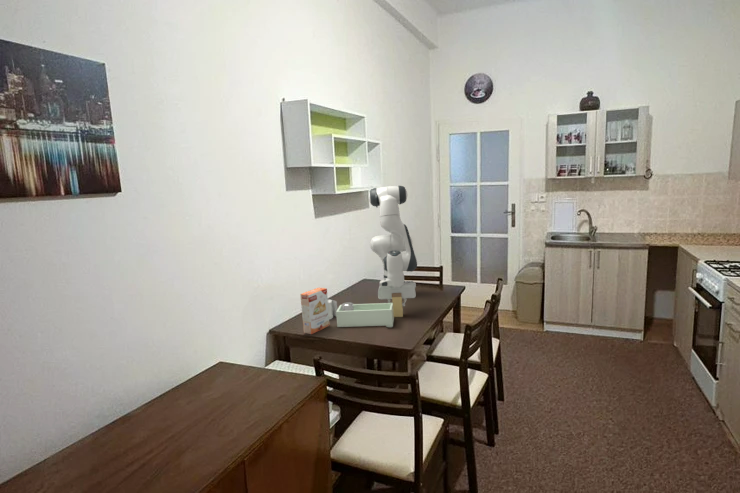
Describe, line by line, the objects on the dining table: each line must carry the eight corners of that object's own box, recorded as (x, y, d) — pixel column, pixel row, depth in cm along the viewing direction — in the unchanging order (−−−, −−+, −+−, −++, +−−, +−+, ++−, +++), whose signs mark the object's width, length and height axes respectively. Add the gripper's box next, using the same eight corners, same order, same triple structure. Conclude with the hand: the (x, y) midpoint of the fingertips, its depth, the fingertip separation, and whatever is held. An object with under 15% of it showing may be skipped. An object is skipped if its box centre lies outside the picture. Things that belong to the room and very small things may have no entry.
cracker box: (312, 336, 216) (308, 294, 212) (303, 334, 219) (299, 293, 216) (330, 327, 227) (327, 287, 224) (321, 325, 230) (318, 286, 227)
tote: (341, 321, 236) (340, 304, 234) (393, 319, 232) (392, 302, 231) (337, 328, 224) (336, 311, 222) (392, 327, 220) (391, 309, 219)
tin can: (344, 320, 232) (342, 302, 231) (355, 320, 231) (353, 302, 230) (342, 324, 226) (340, 306, 225) (353, 324, 226) (352, 305, 224)
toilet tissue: (311, 319, 243) (309, 301, 241) (331, 314, 248) (329, 297, 246) (317, 324, 233) (316, 305, 232) (338, 319, 239) (337, 301, 237)
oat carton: (393, 314, 241) (392, 291, 239) (403, 313, 240) (401, 290, 238) (393, 317, 236) (391, 293, 234) (402, 316, 235) (401, 293, 233)
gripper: (415, 279, 237) (417, 303, 239) (377, 280, 239) (379, 305, 241) (415, 281, 231) (417, 307, 233) (376, 283, 233) (378, 308, 235)
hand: (397, 306), depth 237 cm, fingers closed on oat carton, 5 cm apart
